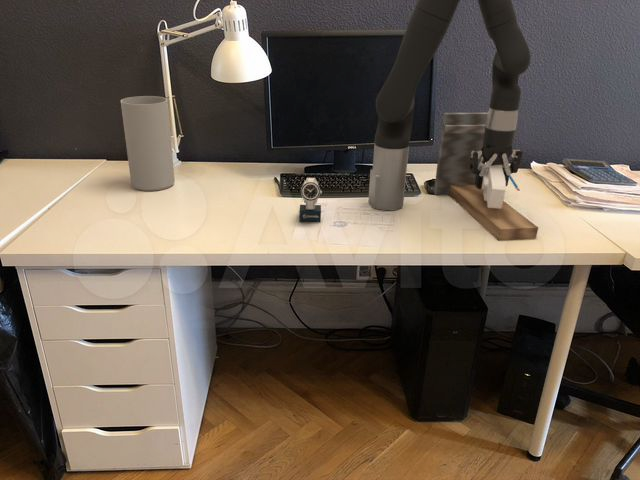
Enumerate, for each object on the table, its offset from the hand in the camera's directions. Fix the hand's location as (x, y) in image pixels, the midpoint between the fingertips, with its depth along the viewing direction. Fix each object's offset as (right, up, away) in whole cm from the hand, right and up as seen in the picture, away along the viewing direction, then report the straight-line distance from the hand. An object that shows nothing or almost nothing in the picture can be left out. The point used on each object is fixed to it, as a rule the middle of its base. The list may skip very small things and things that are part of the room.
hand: (490, 187), depth 145 cm
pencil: (+16, +4, +29) cm, 33 cm away
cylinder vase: (-96, +2, +16) cm, 98 cm away
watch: (-49, -9, -4) cm, 50 cm away
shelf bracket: (0, -2, +3) cm, 4 cm away
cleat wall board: (0, -7, +2) cm, 7 cm away
